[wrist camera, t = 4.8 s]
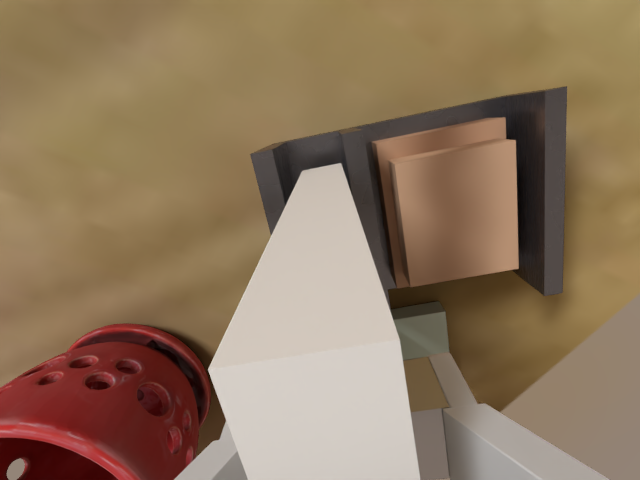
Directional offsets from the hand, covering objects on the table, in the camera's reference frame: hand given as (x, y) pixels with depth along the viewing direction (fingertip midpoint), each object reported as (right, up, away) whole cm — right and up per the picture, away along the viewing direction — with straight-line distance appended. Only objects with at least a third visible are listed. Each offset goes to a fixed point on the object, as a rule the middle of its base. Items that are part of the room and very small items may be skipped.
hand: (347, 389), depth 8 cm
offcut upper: (+7, +5, +12) cm, 15 cm away
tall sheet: (0, +4, +11) cm, 11 cm away
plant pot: (-15, -7, +20) cm, 26 cm away
